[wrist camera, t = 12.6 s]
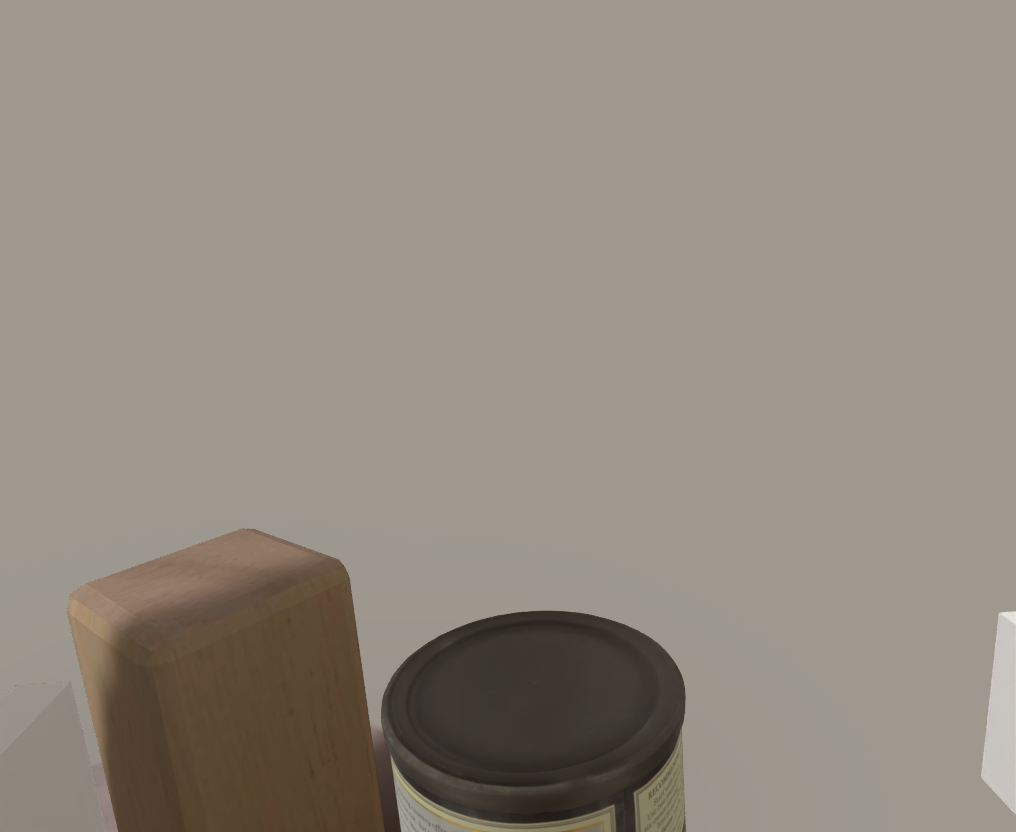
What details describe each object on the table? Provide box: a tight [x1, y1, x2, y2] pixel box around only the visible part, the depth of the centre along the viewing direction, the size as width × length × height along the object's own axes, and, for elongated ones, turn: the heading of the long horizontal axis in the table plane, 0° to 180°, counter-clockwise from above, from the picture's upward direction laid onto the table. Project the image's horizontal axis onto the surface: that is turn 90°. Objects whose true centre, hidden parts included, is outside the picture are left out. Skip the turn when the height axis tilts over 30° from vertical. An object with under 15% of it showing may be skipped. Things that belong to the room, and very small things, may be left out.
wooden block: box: [67, 529, 385, 832], centre depth 36 cm, size 10×10×20 cm
